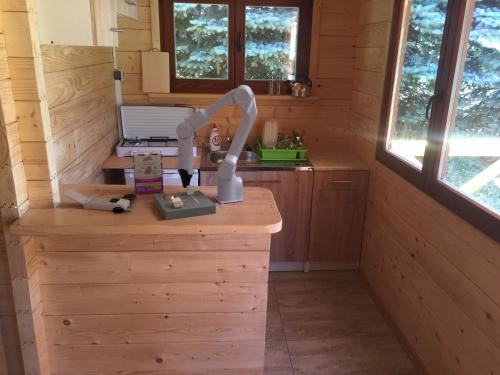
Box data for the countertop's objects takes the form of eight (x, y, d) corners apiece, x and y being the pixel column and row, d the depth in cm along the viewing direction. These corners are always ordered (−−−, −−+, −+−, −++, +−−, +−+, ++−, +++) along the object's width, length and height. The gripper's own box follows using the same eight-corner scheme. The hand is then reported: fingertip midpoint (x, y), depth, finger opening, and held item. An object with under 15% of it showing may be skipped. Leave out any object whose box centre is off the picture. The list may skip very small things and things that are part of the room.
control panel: (199, 197, 166) (199, 185, 164) (215, 213, 150) (215, 200, 149) (153, 202, 158) (153, 190, 157) (166, 220, 143) (165, 206, 141)
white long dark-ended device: (69, 187, 154) (135, 191, 152) (70, 202, 156) (136, 206, 154) (60, 192, 148) (128, 197, 146) (62, 208, 150) (129, 213, 148)
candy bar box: (162, 189, 173) (161, 150, 168) (163, 193, 169) (162, 153, 164) (134, 190, 170) (132, 151, 165) (134, 194, 166) (132, 154, 161)
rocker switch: (179, 199, 150) (179, 196, 149) (183, 206, 146) (183, 203, 145) (170, 200, 148) (170, 197, 148) (174, 207, 144) (174, 204, 144)
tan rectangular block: (192, 192, 160) (192, 185, 159) (194, 194, 159) (194, 186, 158) (186, 193, 159) (186, 185, 158) (187, 194, 158) (187, 187, 157)
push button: (173, 201, 159) (173, 193, 158) (175, 204, 156) (175, 196, 155) (163, 202, 157) (163, 194, 156) (166, 205, 154) (166, 197, 153)
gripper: (170, 149, 164) (170, 182, 168) (180, 158, 152) (181, 194, 156) (187, 148, 167) (187, 181, 171) (199, 157, 154) (199, 192, 159)
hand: (185, 187), depth 164 cm, fingers closed
